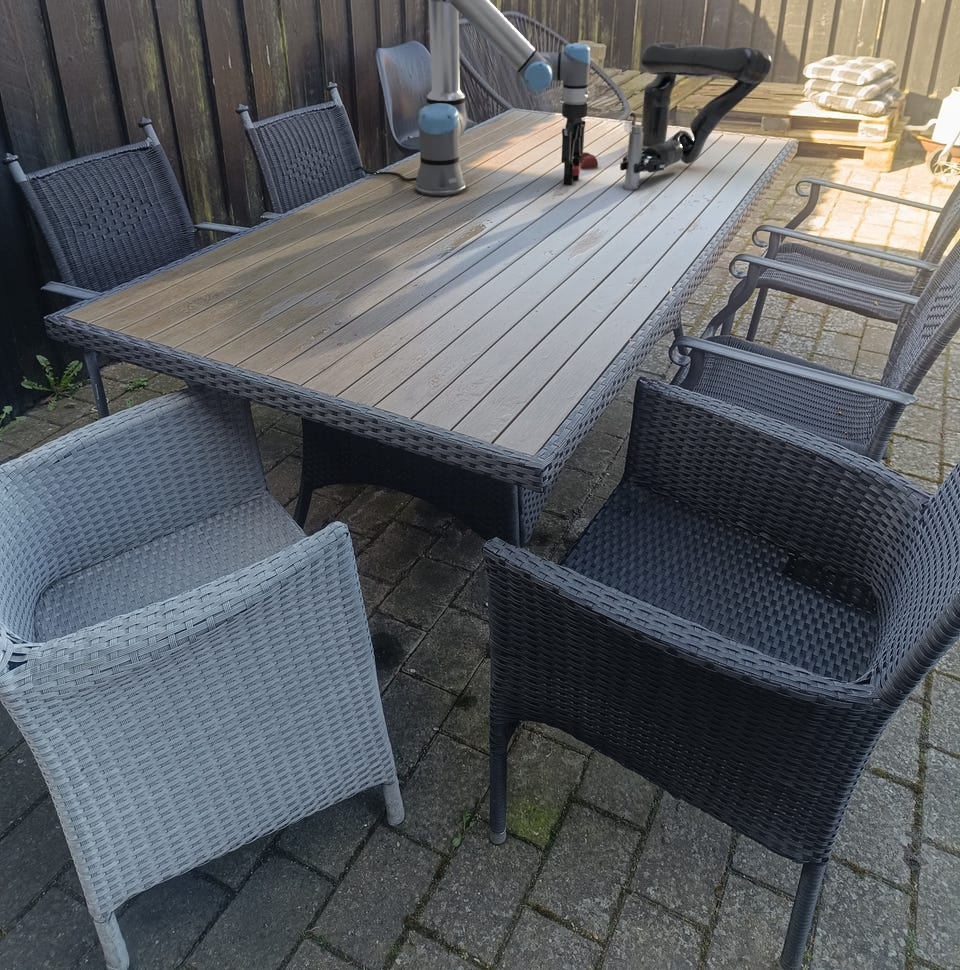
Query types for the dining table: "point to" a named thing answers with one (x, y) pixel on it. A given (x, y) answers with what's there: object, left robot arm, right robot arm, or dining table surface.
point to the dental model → (588, 161)
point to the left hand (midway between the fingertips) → (571, 181)
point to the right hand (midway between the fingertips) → (628, 168)
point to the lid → (576, 170)
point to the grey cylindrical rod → (634, 157)
